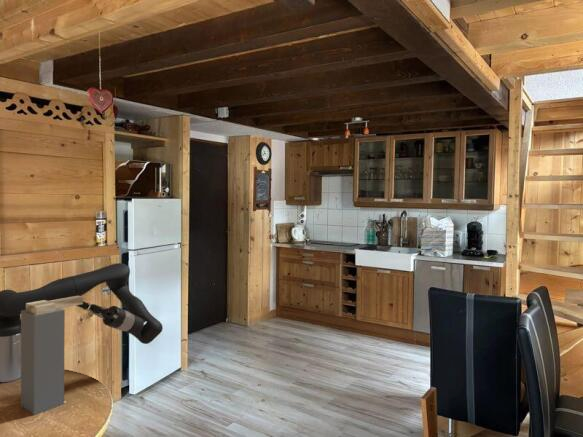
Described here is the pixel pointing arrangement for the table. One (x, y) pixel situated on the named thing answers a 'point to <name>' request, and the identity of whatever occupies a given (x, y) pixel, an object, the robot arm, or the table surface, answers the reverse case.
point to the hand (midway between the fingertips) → (84, 304)
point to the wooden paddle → (52, 304)
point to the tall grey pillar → (42, 360)
